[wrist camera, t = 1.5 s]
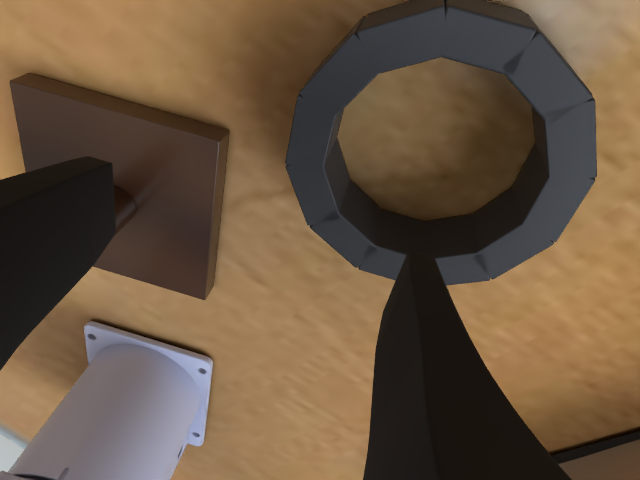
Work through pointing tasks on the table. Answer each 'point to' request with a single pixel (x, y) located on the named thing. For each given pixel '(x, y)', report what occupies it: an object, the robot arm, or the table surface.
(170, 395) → the robot arm
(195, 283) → the brown peg stand
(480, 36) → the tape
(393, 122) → the table surface
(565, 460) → the dark grey book
